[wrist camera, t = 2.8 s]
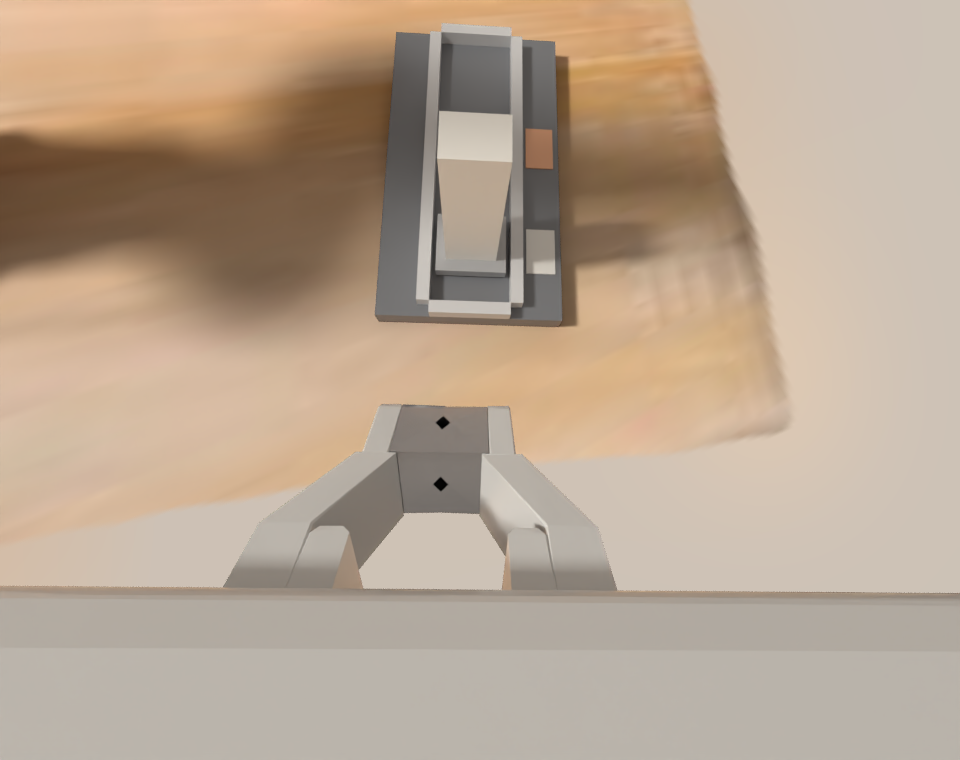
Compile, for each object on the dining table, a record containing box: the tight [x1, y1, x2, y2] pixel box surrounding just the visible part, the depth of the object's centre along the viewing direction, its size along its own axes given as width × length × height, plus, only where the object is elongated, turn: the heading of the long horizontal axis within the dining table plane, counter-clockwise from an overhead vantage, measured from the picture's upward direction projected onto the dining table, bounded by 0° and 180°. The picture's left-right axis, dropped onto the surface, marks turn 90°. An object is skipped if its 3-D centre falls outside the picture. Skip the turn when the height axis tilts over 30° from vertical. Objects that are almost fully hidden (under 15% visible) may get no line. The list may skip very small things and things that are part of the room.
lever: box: [435, 111, 512, 277], centre depth 26 cm, size 6×5×11 cm
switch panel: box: [375, 23, 562, 327], centre depth 34 cm, size 15×28×2 cm, turn 179°
